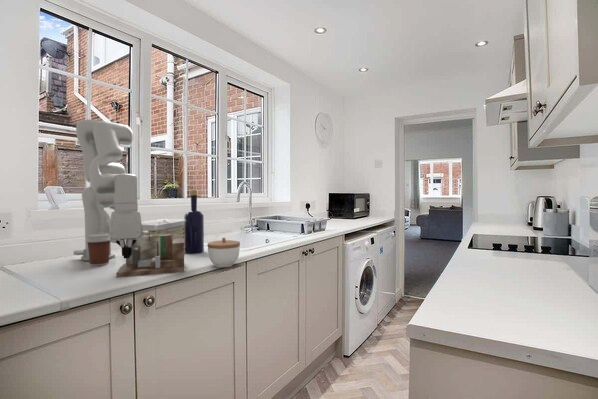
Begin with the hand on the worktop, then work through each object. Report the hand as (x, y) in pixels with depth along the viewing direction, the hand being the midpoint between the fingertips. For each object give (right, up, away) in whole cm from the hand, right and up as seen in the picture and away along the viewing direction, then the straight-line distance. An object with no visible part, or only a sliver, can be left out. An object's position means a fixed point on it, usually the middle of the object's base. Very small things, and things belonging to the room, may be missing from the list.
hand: (126, 257), depth 117 cm
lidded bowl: (+33, -5, +11) cm, 35 cm away
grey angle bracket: (+6, -3, +1) cm, 7 cm away
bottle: (+13, -4, +37) cm, 39 cm away
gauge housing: (+8, -5, +3) cm, 10 cm away
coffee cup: (-17, -5, +12) cm, 22 cm away
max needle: (+12, -3, -2) cm, 13 cm away
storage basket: (-6, -4, +42) cm, 42 cm away
